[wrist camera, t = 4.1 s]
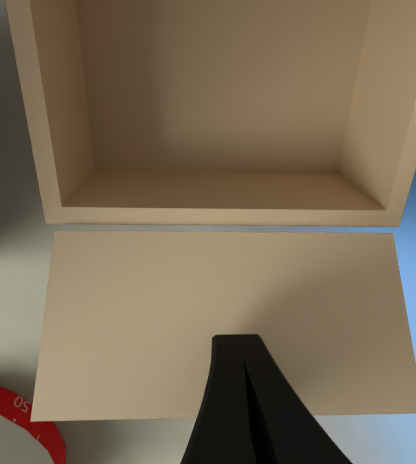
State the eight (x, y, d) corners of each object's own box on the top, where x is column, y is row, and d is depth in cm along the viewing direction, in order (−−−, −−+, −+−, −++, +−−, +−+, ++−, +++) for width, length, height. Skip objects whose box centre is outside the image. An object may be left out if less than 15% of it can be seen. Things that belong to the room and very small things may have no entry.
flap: (392, 233, 12) (386, 236, 12) (54, 230, 11) (58, 234, 12) (424, 413, 10) (415, 410, 11) (30, 421, 10) (36, 418, 10)
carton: (343, 182, 17) (399, 226, 12) (85, 178, 16) (45, 224, 12) (414, -169, 12) (554, -312, 7) (40, -196, 11) (-63, -371, 7)
